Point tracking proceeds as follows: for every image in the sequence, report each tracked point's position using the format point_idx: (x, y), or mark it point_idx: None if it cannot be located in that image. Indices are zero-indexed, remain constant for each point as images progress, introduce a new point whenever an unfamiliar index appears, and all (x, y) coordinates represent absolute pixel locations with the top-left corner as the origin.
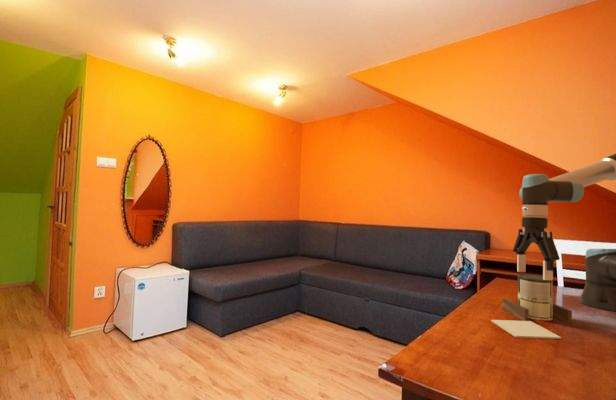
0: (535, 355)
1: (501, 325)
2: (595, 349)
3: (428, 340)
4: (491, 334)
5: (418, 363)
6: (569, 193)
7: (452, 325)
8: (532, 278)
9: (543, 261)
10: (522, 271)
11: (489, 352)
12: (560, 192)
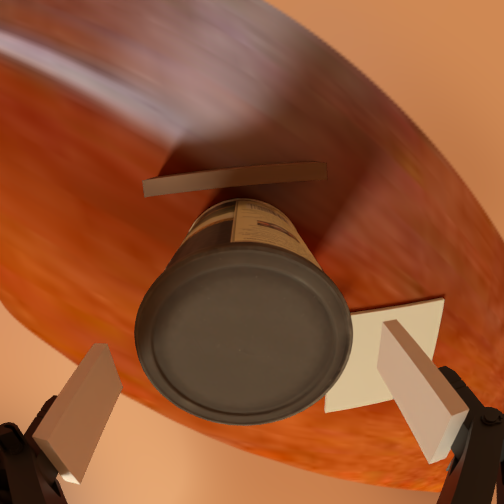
0: (480, 378)
1: (367, 402)
2: (486, 253)
3: (405, 482)
4: (401, 422)
5: None
6: None
7: (351, 467)
8: (320, 395)
9: (429, 456)
10: (111, 365)
11: None
12: None
